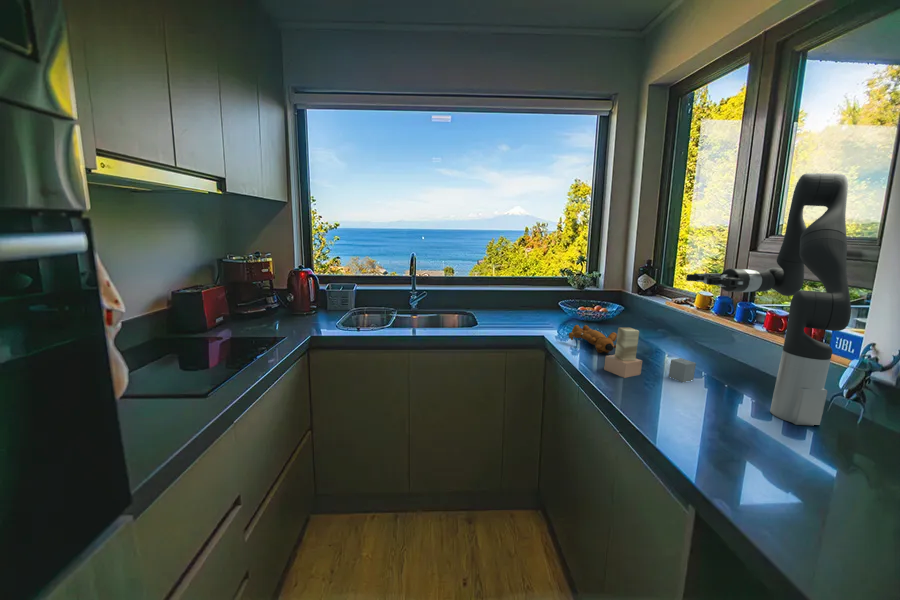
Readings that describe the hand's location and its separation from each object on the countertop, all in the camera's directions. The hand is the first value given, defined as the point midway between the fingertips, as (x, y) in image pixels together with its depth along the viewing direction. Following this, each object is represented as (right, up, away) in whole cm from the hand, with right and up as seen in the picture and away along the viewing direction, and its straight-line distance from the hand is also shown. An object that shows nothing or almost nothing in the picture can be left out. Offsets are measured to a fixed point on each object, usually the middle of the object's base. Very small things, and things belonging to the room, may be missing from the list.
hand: (697, 279), depth 127 cm
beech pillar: (-21, -26, +4) cm, 34 cm away
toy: (-21, -26, +35) cm, 48 cm away
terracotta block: (-22, -31, +5) cm, 38 cm away
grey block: (-5, -32, +1) cm, 33 cm away
